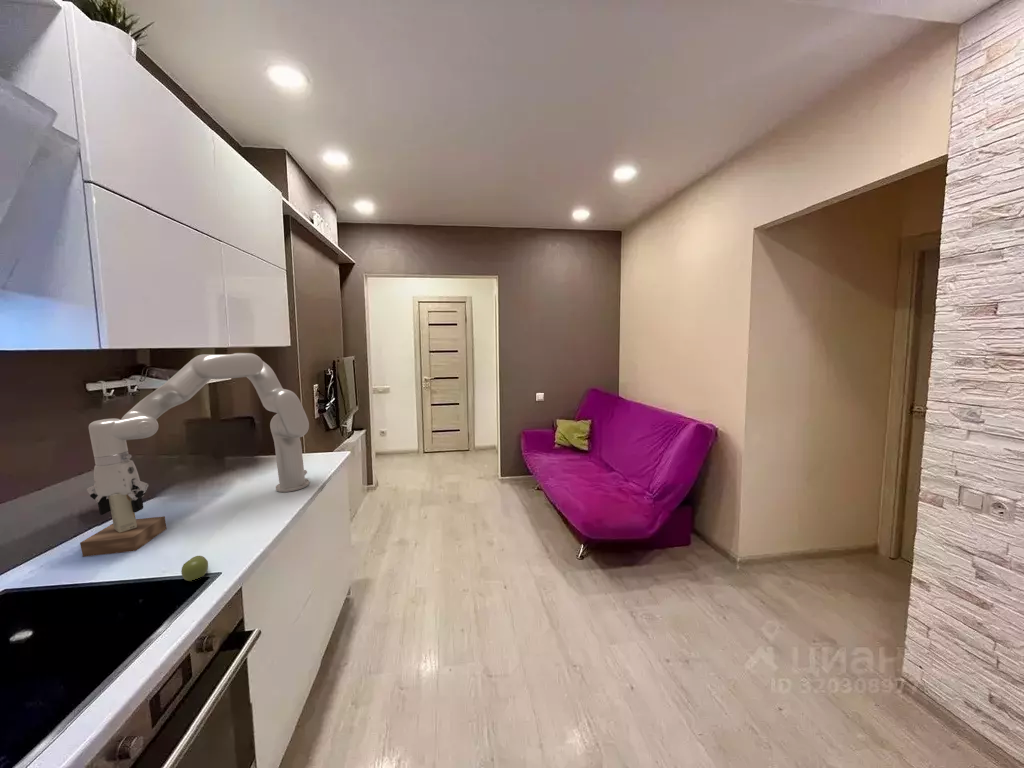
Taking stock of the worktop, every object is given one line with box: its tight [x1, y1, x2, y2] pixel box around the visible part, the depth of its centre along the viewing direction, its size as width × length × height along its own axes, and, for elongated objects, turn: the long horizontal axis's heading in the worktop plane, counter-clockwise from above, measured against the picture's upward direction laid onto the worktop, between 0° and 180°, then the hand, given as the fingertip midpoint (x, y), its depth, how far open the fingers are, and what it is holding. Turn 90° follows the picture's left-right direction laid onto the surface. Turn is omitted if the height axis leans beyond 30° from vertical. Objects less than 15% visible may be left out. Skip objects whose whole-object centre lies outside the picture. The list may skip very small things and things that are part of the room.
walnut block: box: [79, 516, 168, 557], centre depth 129 cm, size 14×14×5 cm
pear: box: [180, 555, 209, 582], centre depth 109 cm, size 6×5×10 cm
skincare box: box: [107, 494, 137, 533], centre depth 128 cm, size 6×4×12 cm
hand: (122, 511), depth 128 cm, fingers open, 9 cm apart
